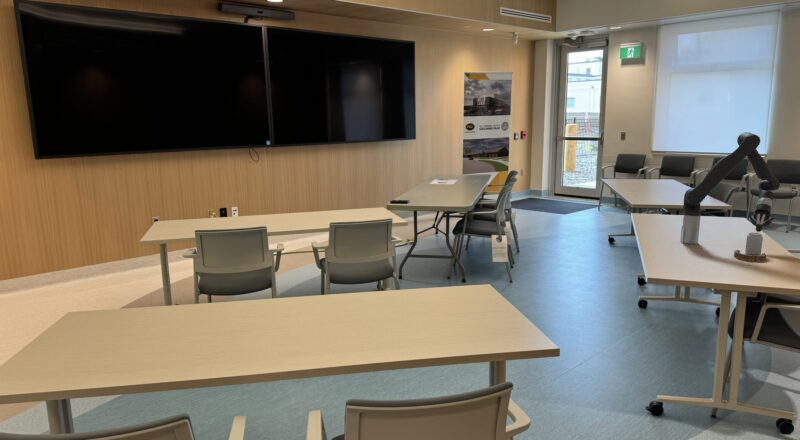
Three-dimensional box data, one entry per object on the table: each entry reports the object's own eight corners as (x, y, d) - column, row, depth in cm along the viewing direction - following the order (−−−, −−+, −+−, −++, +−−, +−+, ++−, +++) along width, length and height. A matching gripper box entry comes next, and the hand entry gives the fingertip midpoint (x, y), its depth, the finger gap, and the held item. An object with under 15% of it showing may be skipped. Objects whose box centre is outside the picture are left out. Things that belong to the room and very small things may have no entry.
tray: (738, 260, 292) (739, 255, 291) (731, 254, 304) (731, 249, 304) (769, 262, 288) (770, 256, 287) (760, 256, 301) (761, 251, 300)
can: (753, 256, 301) (755, 235, 298) (741, 253, 308) (744, 232, 305) (764, 255, 303) (766, 234, 300) (752, 252, 310) (754, 231, 307)
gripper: (750, 202, 319) (744, 225, 312) (777, 204, 310) (772, 228, 303) (750, 209, 324) (745, 233, 317) (777, 212, 315) (772, 236, 308)
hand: (758, 231), depth 310 cm, fingers closed
